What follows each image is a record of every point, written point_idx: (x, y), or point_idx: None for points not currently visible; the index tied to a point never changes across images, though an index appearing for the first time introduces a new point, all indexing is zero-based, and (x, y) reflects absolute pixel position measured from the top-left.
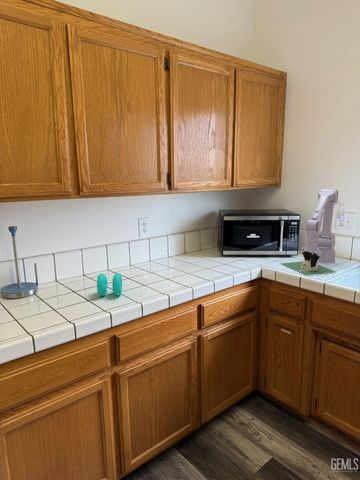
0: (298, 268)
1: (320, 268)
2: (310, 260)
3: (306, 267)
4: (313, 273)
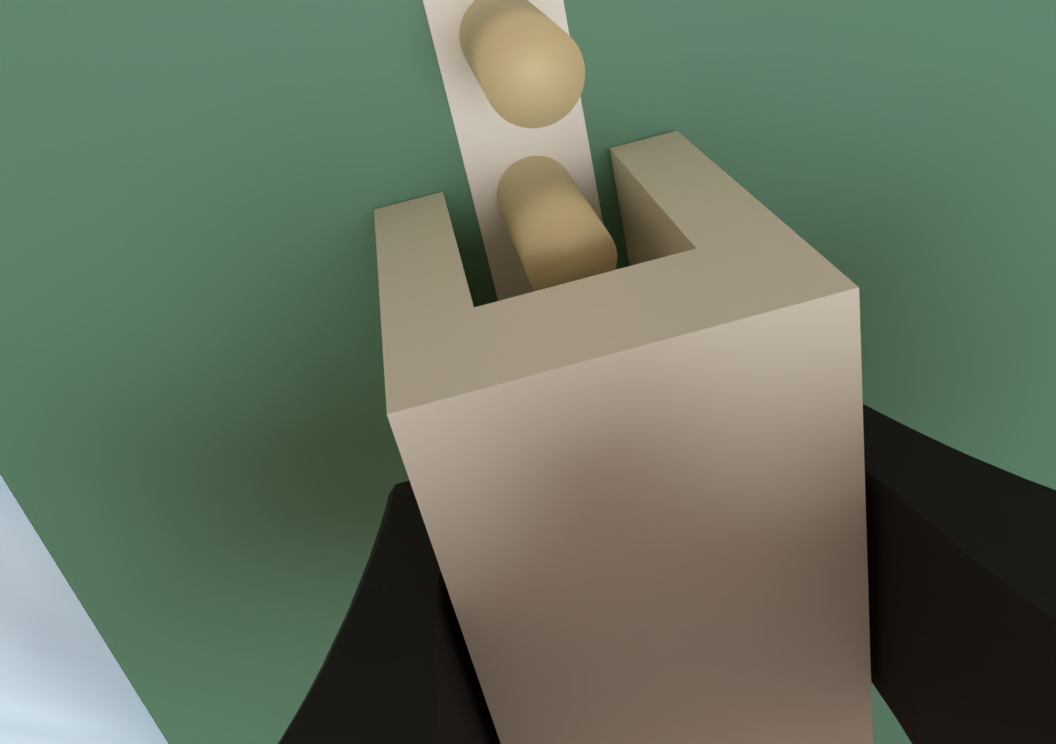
0: (820, 28)
1: None
2: (763, 671)
3: (414, 262)
4: (74, 360)
